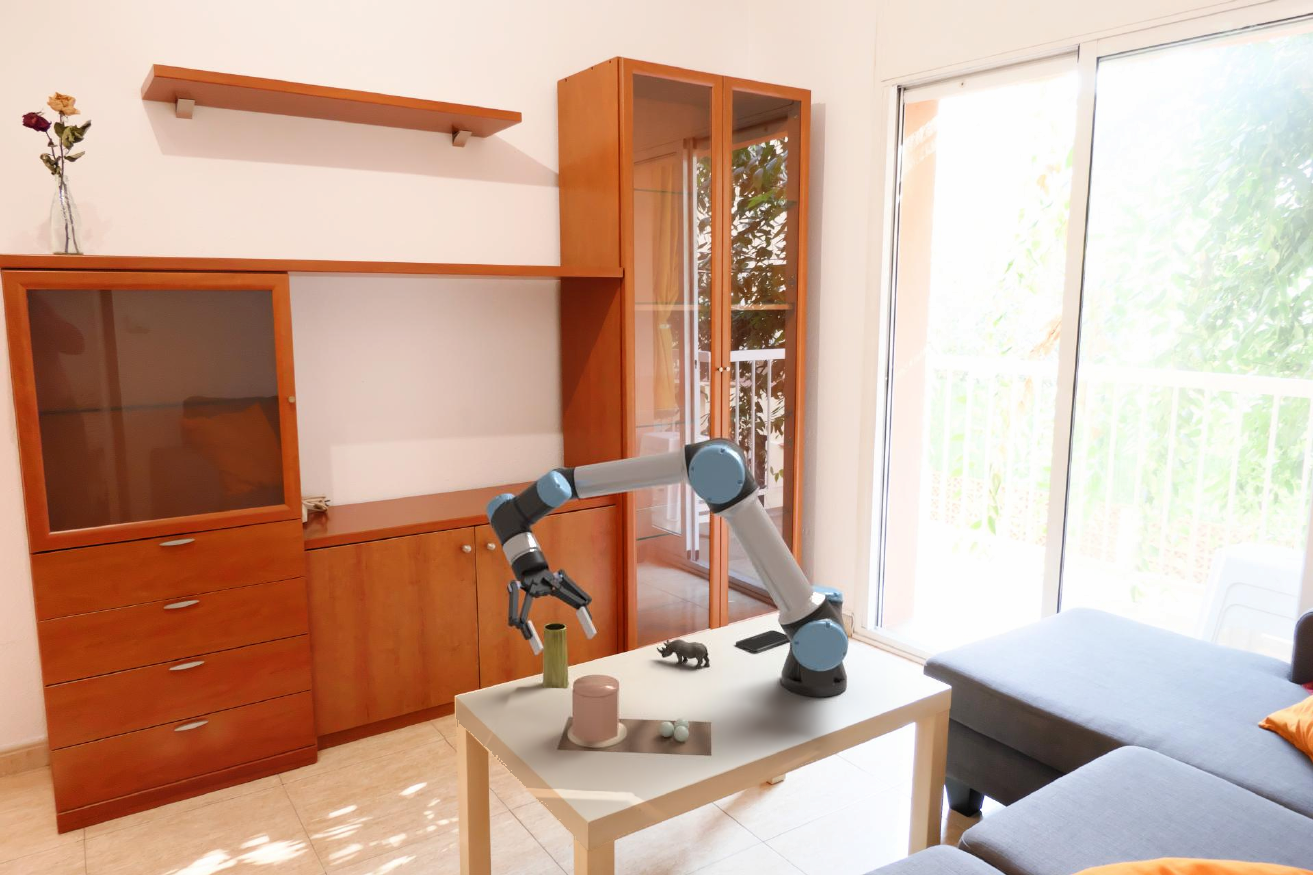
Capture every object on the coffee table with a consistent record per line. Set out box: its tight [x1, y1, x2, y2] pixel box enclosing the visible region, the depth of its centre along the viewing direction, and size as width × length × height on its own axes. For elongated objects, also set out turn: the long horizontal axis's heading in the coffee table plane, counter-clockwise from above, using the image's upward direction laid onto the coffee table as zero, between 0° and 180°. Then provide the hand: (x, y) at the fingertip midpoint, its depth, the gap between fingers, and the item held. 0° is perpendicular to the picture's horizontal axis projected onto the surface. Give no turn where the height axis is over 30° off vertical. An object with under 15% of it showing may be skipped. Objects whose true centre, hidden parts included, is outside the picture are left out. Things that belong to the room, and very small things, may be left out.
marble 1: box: [659, 721, 674, 737], centre depth 175 cm, size 3×3×3 cm
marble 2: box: [674, 717, 689, 730], centre depth 177 cm, size 3×3×3 cm
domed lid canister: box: [571, 674, 620, 742], centre depth 176 cm, size 9×9×10 cm
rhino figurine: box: [656, 638, 711, 670], centre depth 215 cm, size 4×14×6 cm, turn 67°
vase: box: [541, 622, 570, 689], centre depth 201 cm, size 6×6×14 cm
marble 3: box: [674, 726, 689, 742], centre depth 173 cm, size 3×3×3 cm
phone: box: [735, 630, 790, 654], centre depth 230 cm, size 8×1×15 cm
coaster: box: [568, 723, 627, 748], centre depth 176 cm, size 12×12×1 cm
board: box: [556, 716, 712, 757], centre depth 176 cm, size 30×14×1 cm, turn 86°
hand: (566, 643), depth 182 cm, fingers open, 13 cm apart
